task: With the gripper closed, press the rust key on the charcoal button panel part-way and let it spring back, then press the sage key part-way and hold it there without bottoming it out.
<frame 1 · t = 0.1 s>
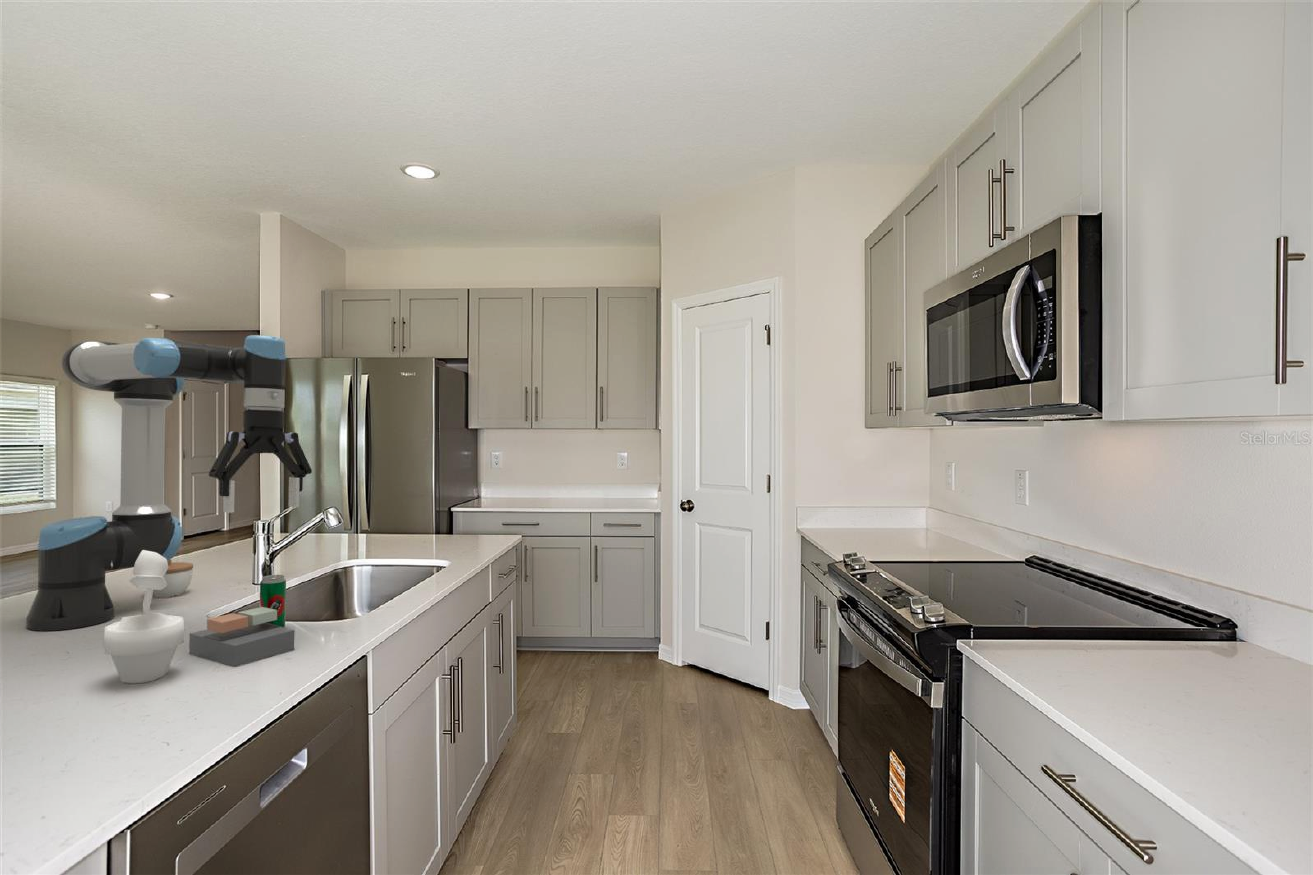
hand: (262, 509, 143), 28 cm above the countertop, fingers open, 13 cm apart
button panel: (242, 651, 136), on the countertop
white floating cup sculpture: (142, 680, 120), on the countertop
rust key: (227, 622, 133), point 6 cm above the countertop, slide at 0.0 cm
soda can: (272, 631, 150), on the countertop
lidded jar: (168, 595, 181), on the countertop
sage key: (257, 616, 138), point 6 cm above the countertop, slide at 0.0 cm
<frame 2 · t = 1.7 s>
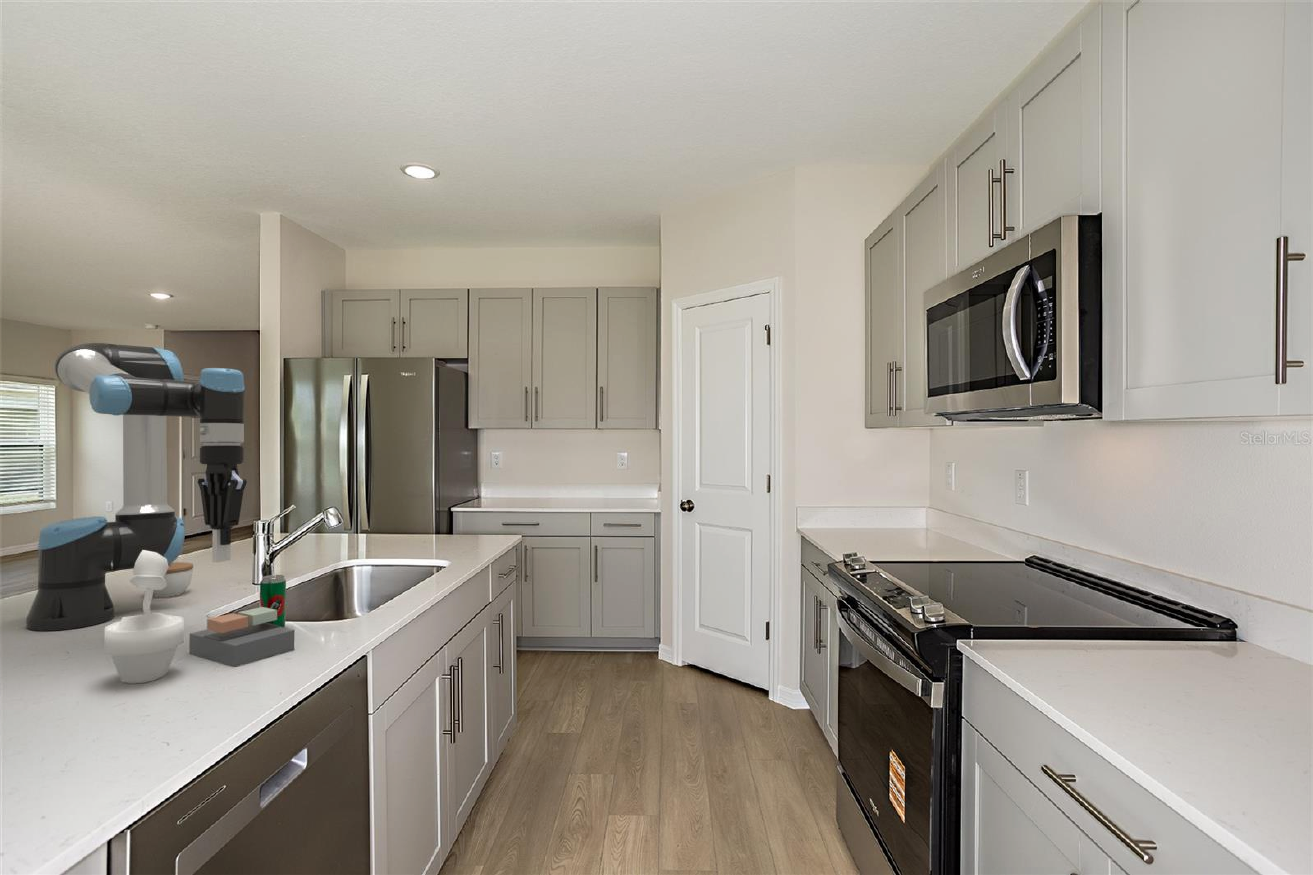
hand: (221, 560, 137), 18 cm above the countertop, fingers closed
nothing on the countertop moved.
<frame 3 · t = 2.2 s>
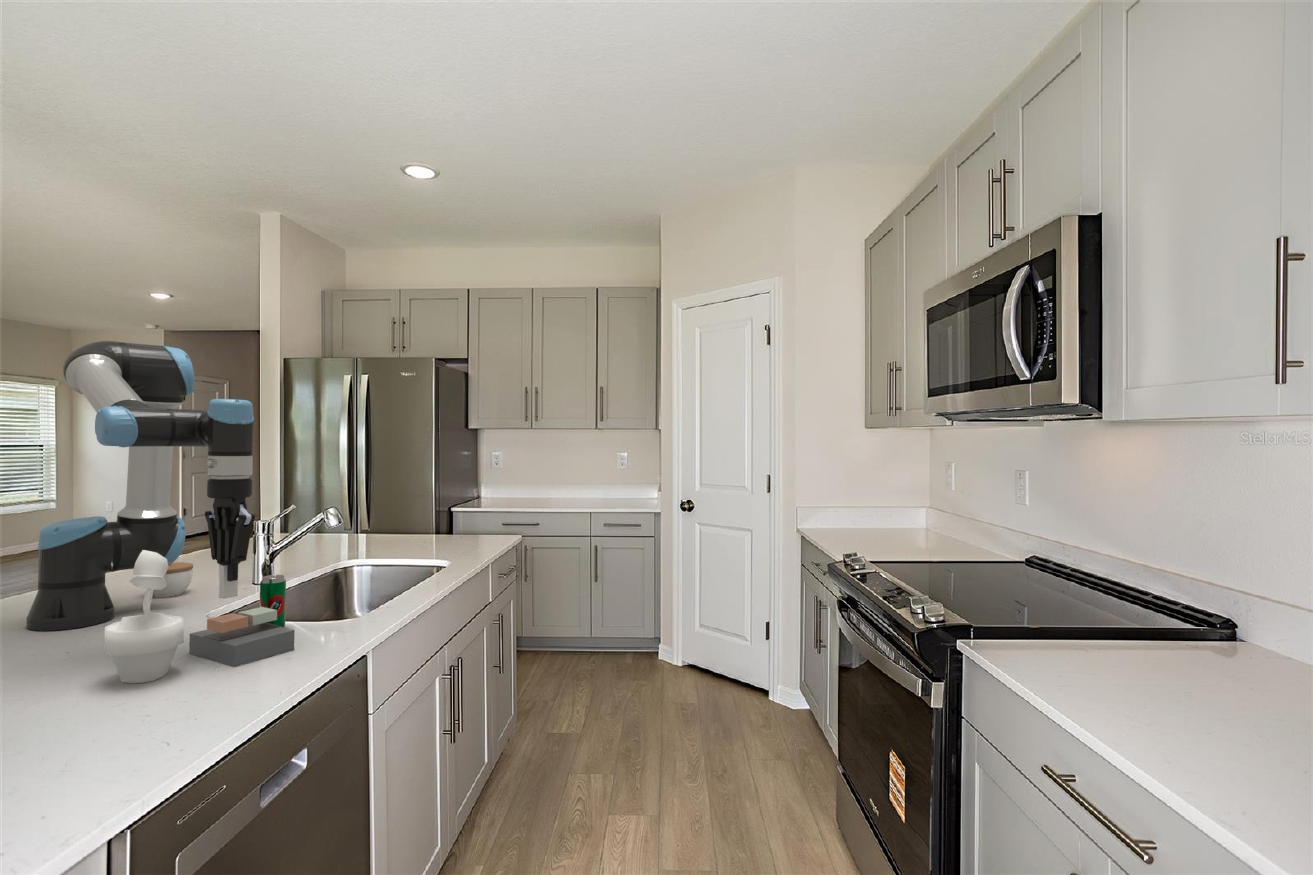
hand: (228, 596, 133), 12 cm above the countertop, fingers closed
nothing on the countertop moved.
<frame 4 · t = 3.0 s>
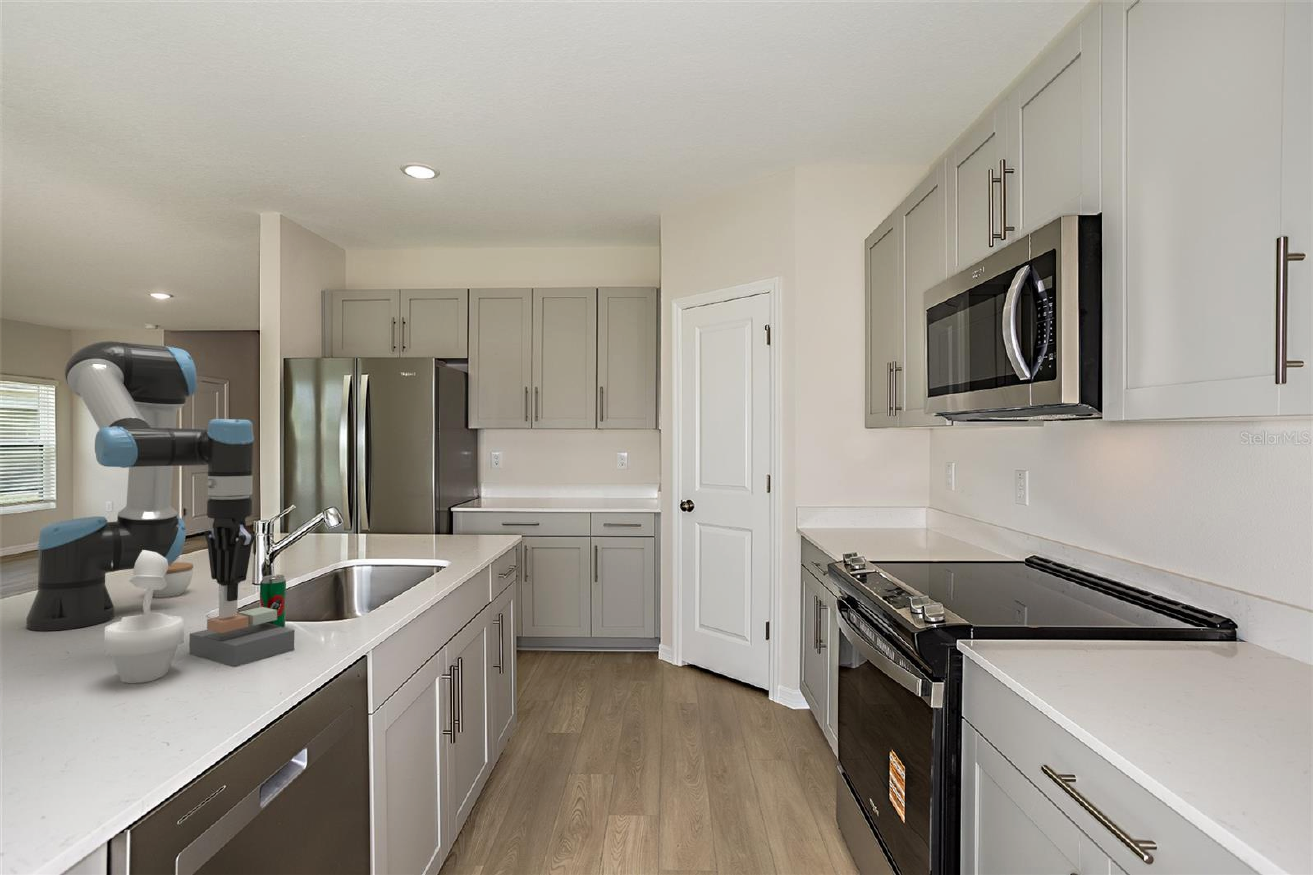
hand: (228, 616, 133), 8 cm above the countertop, fingers closed
rust key: (227, 622, 133), point 6 cm above the countertop, slide at 0.0 cm, touching gripper
everything else where it was.
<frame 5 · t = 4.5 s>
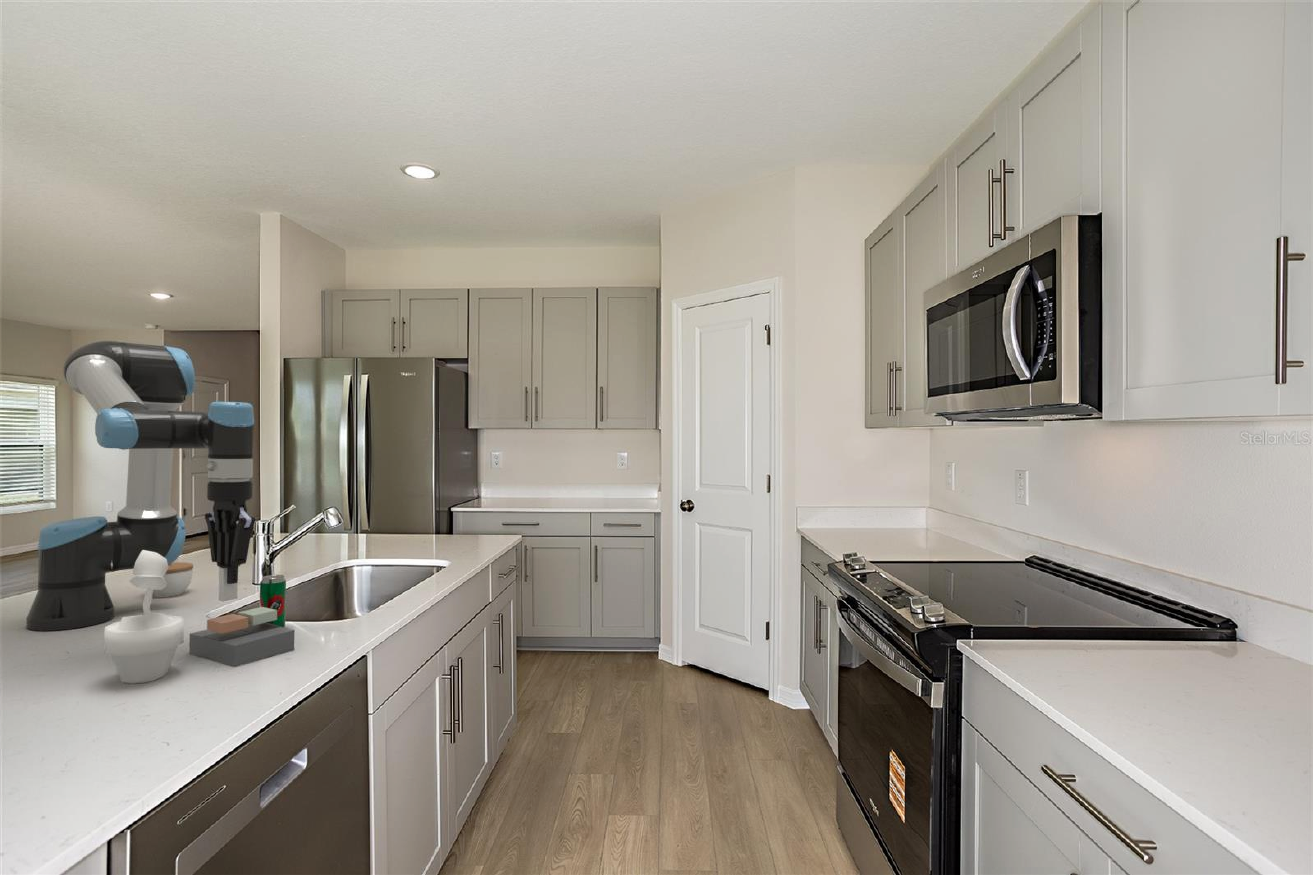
hand: (228, 599, 133), 11 cm above the countertop, fingers closed
rust key: (227, 623, 133), point 6 cm above the countertop, slide at 0.1 cm
everything else where it was.
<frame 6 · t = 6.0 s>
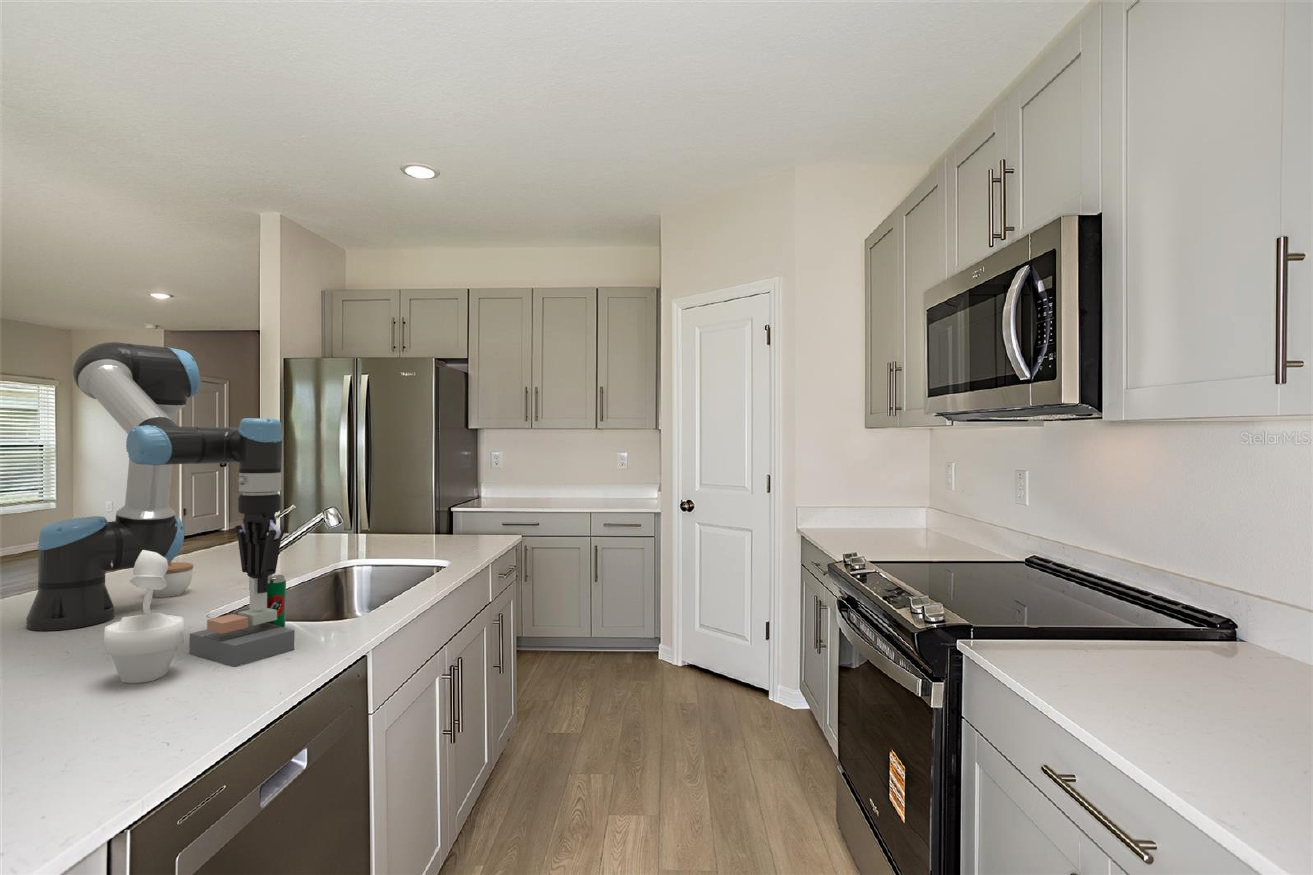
hand: (258, 608, 138), 8 cm above the countertop, fingers closed
nothing on the countertop moved.
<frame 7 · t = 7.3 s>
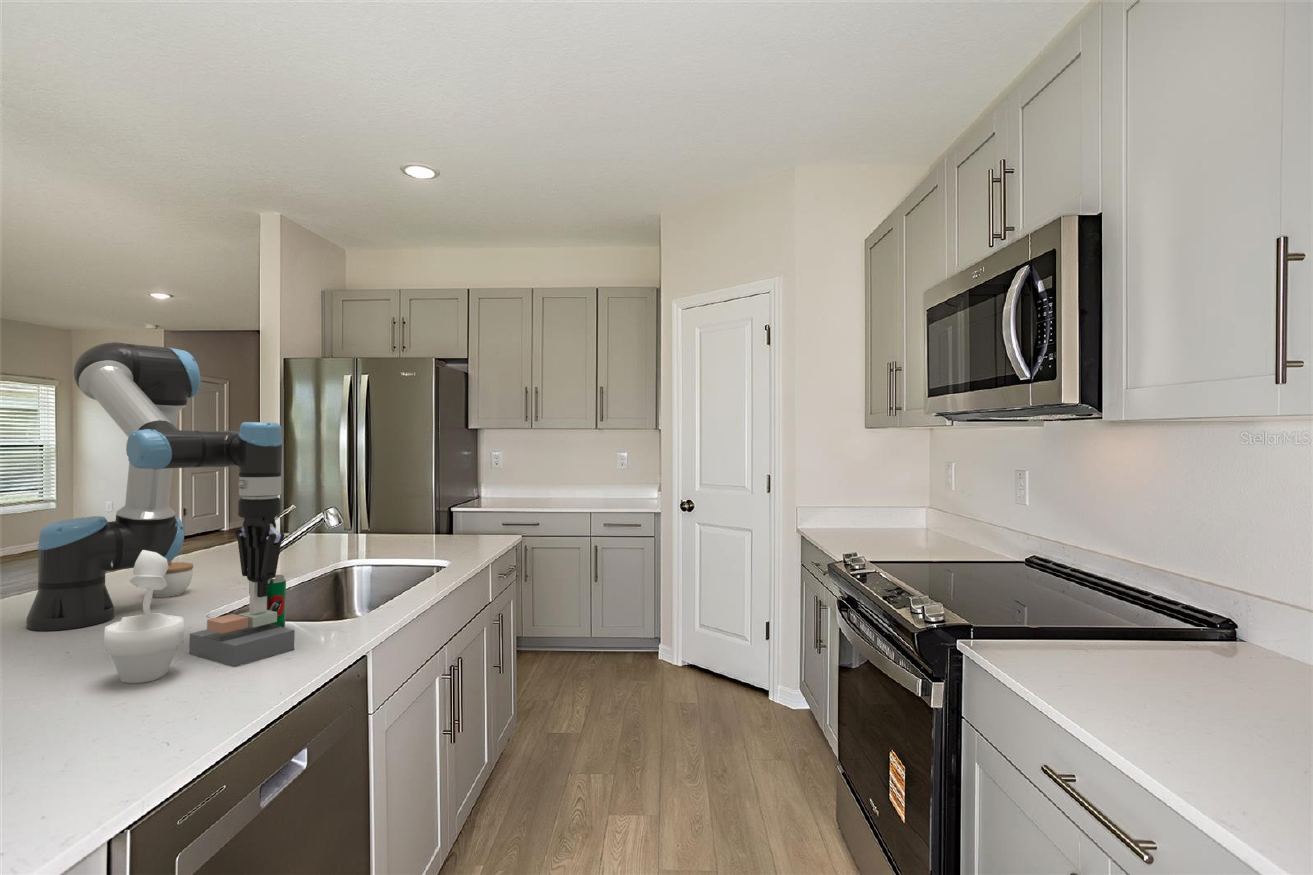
hand: (258, 612, 138), 7 cm above the countertop, fingers closed
sage key: (257, 618, 138), point 6 cm above the countertop, slide at 0.4 cm, touching gripper
everything else where it was.
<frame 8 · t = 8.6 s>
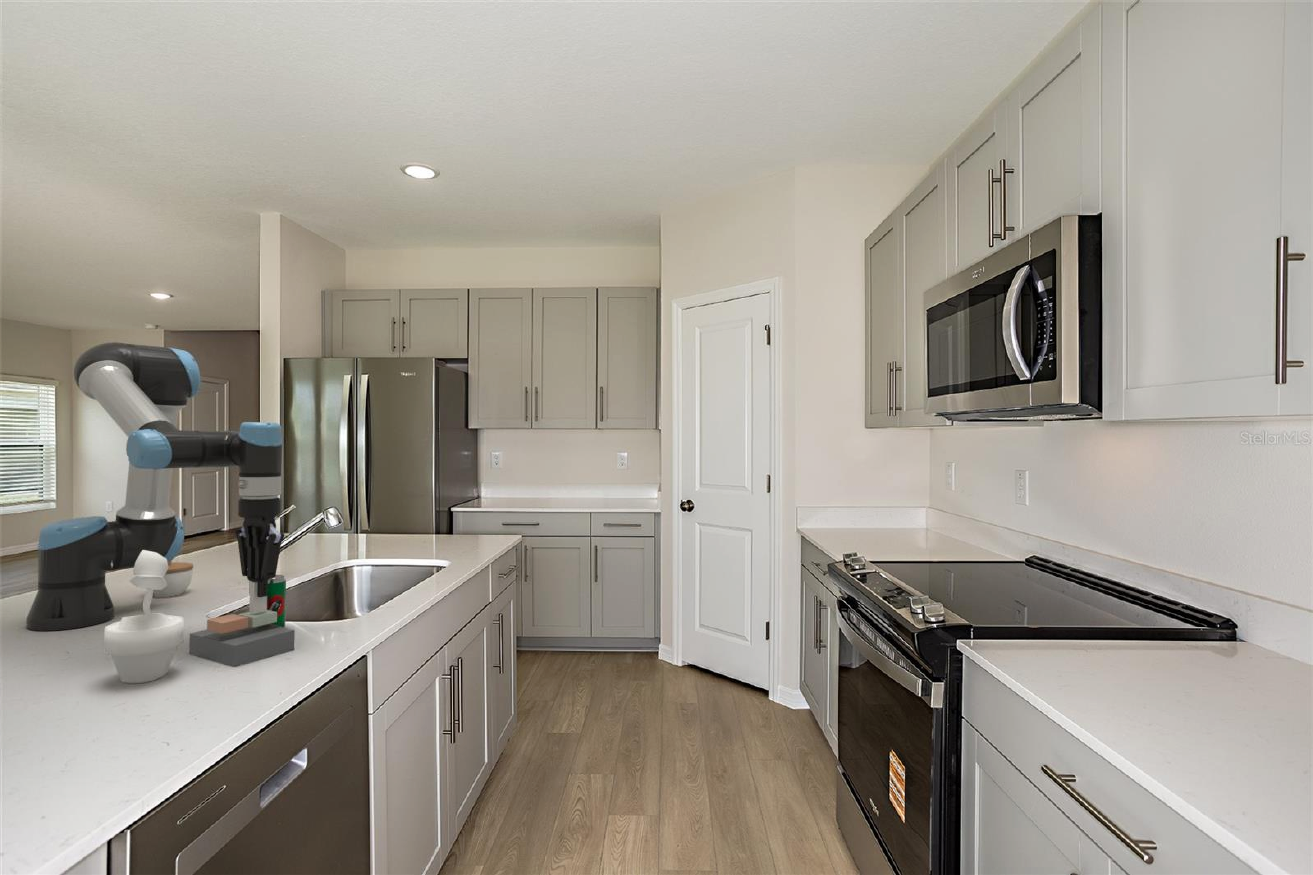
hand: (258, 612, 138), 7 cm above the countertop, fingers closed
nothing on the countertop moved.
at the end: sage key slide at 0.4 cm; rust key slide at 0.1 cm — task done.
